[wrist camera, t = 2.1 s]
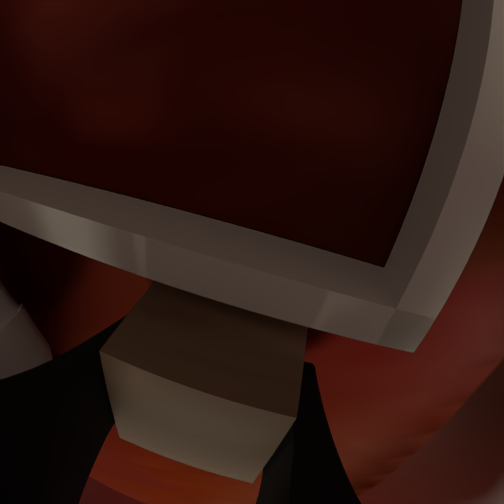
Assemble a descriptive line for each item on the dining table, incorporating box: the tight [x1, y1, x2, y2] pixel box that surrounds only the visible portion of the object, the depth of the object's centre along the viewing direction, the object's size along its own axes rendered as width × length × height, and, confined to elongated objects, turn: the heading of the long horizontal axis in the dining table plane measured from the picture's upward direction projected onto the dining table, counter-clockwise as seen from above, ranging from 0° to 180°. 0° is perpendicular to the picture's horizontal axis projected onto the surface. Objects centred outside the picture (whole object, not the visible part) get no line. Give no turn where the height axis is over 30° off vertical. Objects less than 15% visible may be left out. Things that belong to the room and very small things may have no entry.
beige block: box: [99, 281, 308, 483], centre depth 9 cm, size 4×4×4 cm
